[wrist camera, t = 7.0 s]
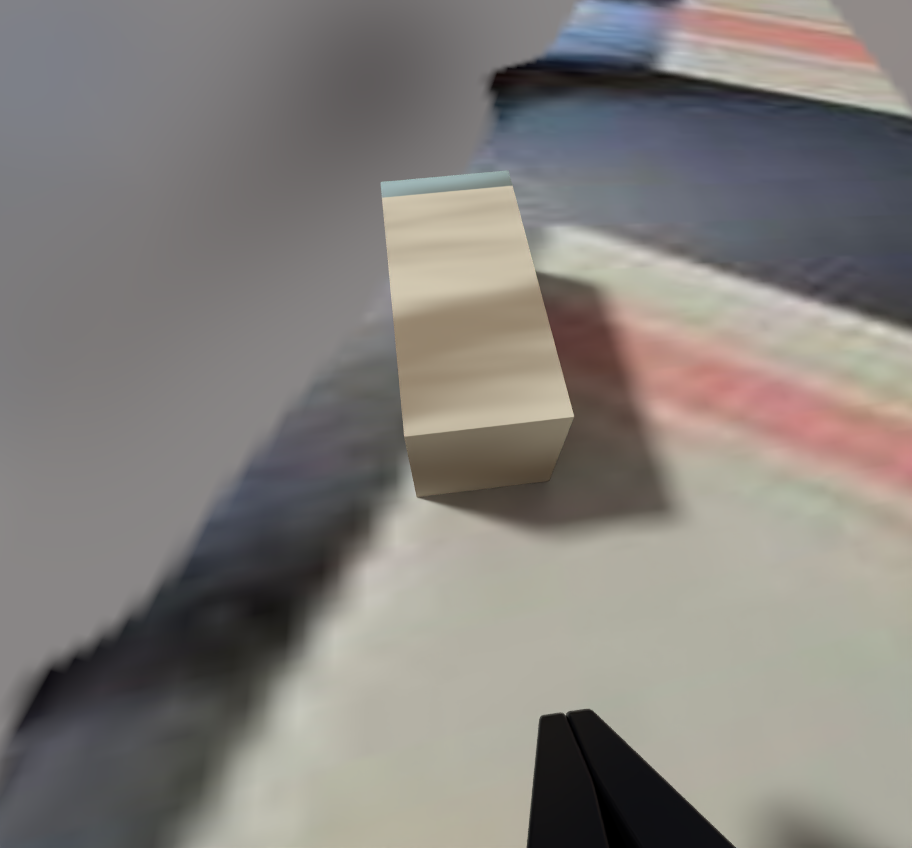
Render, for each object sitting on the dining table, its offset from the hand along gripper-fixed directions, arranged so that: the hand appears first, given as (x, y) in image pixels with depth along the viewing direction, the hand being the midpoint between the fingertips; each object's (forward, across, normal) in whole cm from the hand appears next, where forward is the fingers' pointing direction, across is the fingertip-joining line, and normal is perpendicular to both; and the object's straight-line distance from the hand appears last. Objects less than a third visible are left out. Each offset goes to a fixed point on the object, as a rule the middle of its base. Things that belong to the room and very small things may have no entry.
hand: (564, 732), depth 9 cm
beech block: (+8, 0, -2) cm, 8 cm away
